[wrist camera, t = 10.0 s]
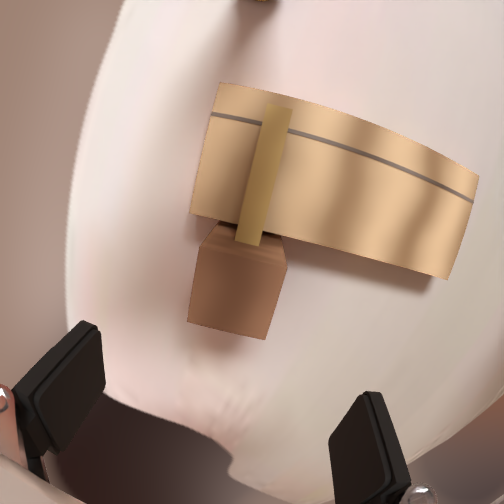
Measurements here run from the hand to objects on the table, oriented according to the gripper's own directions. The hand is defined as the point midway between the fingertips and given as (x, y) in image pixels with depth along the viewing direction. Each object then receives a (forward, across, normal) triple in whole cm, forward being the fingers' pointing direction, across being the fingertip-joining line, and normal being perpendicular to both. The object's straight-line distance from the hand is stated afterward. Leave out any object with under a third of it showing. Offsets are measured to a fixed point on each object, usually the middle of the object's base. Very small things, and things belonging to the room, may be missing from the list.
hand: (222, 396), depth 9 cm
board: (+16, -6, -8) cm, 19 cm away
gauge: (+16, +1, -4) cm, 17 cm away
